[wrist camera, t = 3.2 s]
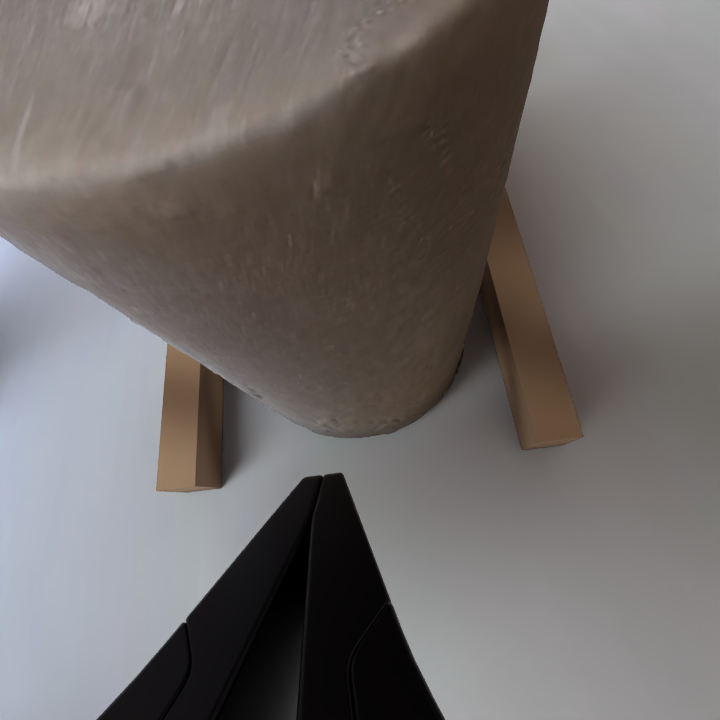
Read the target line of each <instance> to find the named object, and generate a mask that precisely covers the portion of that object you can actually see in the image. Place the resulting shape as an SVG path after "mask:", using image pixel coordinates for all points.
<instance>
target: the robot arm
mask: <svg viewBox="0 0 720 720" xmlns="http://www.w3.org/2000/svg"><path fill="white" fill-rule="evenodd" d="M97 720H445V718H444V716H443V714H442V712H441V711H440V709H439V707H438V705H437V703H436V701H435V699H434V697H433V696H432V694H431V692H430V690H429V687H428V685H427V683H426V681H425V679H424V677H423V675H422V673H421V671H420V669H419V667H418V665H417V663H416V661H415V659H414V657H413V655H412V652H411V650H410V647H409V645H408V643H407V640H406V638H405V635H404V633H403V631H402V628H401V626H400V623H399V620H398V618H397V615H396V612H395V610H394V607H393V605H392V604H391V600H390V597H389V595H388V592H387V589H386V587H385V584H384V581H383V579H382V576H381V573H380V571H379V568H378V565H377V563H376V560H375V557H374V555H373V552H372V549H371V547H370V544H369V541H368V539H367V536H366V533H365V531H364V528H363V525H362V523H361V520H360V517H359V515H358V512H357V510H356V507H355V504H354V502H353V499H352V496H351V494H350V491H349V488H348V486H347V483H346V480H345V478H344V475H343V474H342V473H334V474H327V475H325V476H324V477H323V476H321V475H318V476H310V477H305V478H303V479H302V480H301V481H300V483H299V484H298V485H297V486H296V487H295V489H294V490H293V491H292V492H291V493H290V495H289V496H288V497H287V498H286V499H285V501H284V502H283V503H282V504H281V505H280V507H279V508H278V509H277V510H276V511H275V513H274V514H273V515H272V516H271V517H270V519H269V520H268V521H267V522H266V523H265V525H264V526H263V527H262V528H261V529H260V531H259V532H258V533H257V534H256V535H255V537H254V538H253V539H252V540H251V541H250V543H249V544H248V545H247V546H246V547H245V549H244V550H243V551H242V552H241V553H240V555H239V556H238V557H237V558H236V559H235V561H234V562H233V563H232V564H231V565H230V567H229V568H228V569H227V570H226V571H225V573H224V574H223V575H222V576H221V577H220V579H219V580H218V581H217V582H216V583H215V585H214V586H213V587H212V588H211V589H210V591H209V592H208V593H207V594H206V595H205V597H204V598H203V599H202V600H201V601H200V603H199V604H198V605H197V606H196V607H195V608H194V610H193V611H192V612H191V613H190V614H189V616H188V617H187V618H186V623H182V624H181V625H180V626H179V627H178V629H177V630H176V631H175V632H174V633H173V635H172V636H171V637H170V638H169V639H168V641H167V642H166V643H165V644H164V645H163V647H162V648H161V649H160V650H159V651H158V652H157V653H156V655H155V656H154V657H153V658H152V659H151V660H150V662H149V663H148V664H147V665H146V666H145V667H144V668H143V670H142V671H141V672H140V673H139V674H138V675H137V677H136V678H135V679H134V680H133V681H132V682H131V683H130V684H129V685H128V686H127V687H126V688H125V690H124V691H123V692H122V693H121V694H120V695H119V696H118V697H117V698H116V699H115V700H114V701H113V703H112V704H111V705H110V706H109V707H108V708H107V709H106V710H105V711H104V712H103V713H102V714H101V716H100V717H99V718H98V719H97Z"/></svg>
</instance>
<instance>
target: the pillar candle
mask: <svg viewBox="0 0 720 720" xmlns="http://www.w3.org/2000/svg"><path fill="white" fill-rule="evenodd" d="M548 2H549V0H0V236H1V237H2V238H4V239H6V240H7V241H9V242H10V243H11V244H13V245H14V246H15V247H16V248H18V249H19V250H20V251H22V252H24V253H25V254H27V255H29V256H30V257H32V258H34V259H35V260H37V261H39V262H41V263H42V264H43V265H45V266H46V267H48V268H49V269H51V270H53V271H54V272H56V273H57V274H59V275H60V276H62V277H63V278H65V279H67V280H68V281H70V282H72V283H74V284H76V285H78V286H80V287H82V288H84V289H86V290H88V291H90V292H91V293H93V294H94V295H95V296H97V297H98V298H100V299H102V300H103V301H105V302H106V303H108V304H109V305H110V306H112V307H113V308H115V309H117V310H118V311H120V312H122V313H123V314H124V315H126V316H127V317H129V318H130V320H131V321H132V322H134V323H135V324H138V325H140V326H142V327H144V328H146V329H147V330H149V331H150V332H152V333H153V334H155V335H157V336H159V337H160V338H161V339H163V340H164V341H165V342H167V343H168V344H169V345H171V346H172V347H174V348H175V349H177V350H179V351H181V352H182V353H184V354H187V355H189V356H190V357H191V358H193V359H195V360H196V361H198V362H199V363H201V364H203V365H204V366H205V367H207V368H208V369H209V370H211V371H213V372H214V373H215V374H218V375H220V376H221V377H222V378H224V379H225V380H227V381H228V382H229V383H231V384H233V385H234V386H236V387H238V388H239V389H240V390H242V391H244V392H245V393H247V394H248V395H250V396H252V397H254V398H256V399H258V400H259V401H260V402H261V403H263V404H265V405H267V406H268V407H270V408H271V409H273V410H274V411H276V412H278V413H280V414H281V415H283V416H284V417H286V418H288V419H290V420H291V421H292V422H294V423H296V424H298V425H301V426H303V427H306V428H308V429H309V430H311V431H313V432H315V433H318V434H321V435H326V436H333V437H340V438H361V437H369V436H374V435H380V434H390V433H392V432H395V431H397V430H399V429H400V428H402V427H404V426H407V425H409V424H411V423H413V422H414V421H416V420H417V419H419V418H420V417H421V416H423V415H424V414H425V413H426V412H427V411H428V410H429V409H431V408H432V407H433V406H434V405H435V404H436V403H437V402H438V401H439V400H440V399H441V398H442V397H443V395H444V393H445V392H446V391H447V390H448V388H449V387H450V385H451V384H452V382H453V380H454V376H455V375H456V374H457V372H458V369H459V366H460V363H461V360H462V357H463V351H464V350H463V349H464V348H463V346H464V344H465V339H466V334H467V331H468V328H469V325H470V323H471V321H472V316H473V312H474V308H475V304H476V300H477V296H478V293H479V290H480V286H481V283H482V279H483V275H484V270H485V265H486V262H487V258H488V253H489V248H490V244H491V240H492V236H493V233H494V229H495V224H496V219H497V215H498V211H499V206H500V202H501V198H502V194H503V191H504V186H505V183H506V179H507V175H508V171H509V166H510V162H511V158H512V154H513V150H514V145H515V141H516V137H517V132H518V128H519V124H520V120H521V117H522V113H523V109H524V105H525V101H526V97H527V93H528V89H529V86H530V82H531V78H532V73H533V68H534V64H535V60H536V56H537V52H538V46H539V41H540V36H541V33H542V28H543V24H544V21H545V17H546V12H547V7H548Z"/></svg>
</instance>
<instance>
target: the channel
mask: <svg viewBox="0 0 720 720" xmlns="http://www.w3.org/2000/svg"><path fill="white" fill-rule="evenodd" d="M480 288H481V292H482V296H483V300H484V304H485V308H486V312H487V316H488V320H489V323H490V327H491V331H492V335H493V339H494V343H495V347H496V351H497V355H498V359H499V363H500V367H501V370H502V374H503V378H504V382H505V386H506V390H507V394H508V398H509V402H510V406H511V410H512V414H513V417H514V421H515V425H516V429H517V433H518V437H519V441H520V445H521V449H522V450H527V449H535V448H543V447H551V446H558V445H564V444H566V443H569V442H571V441H574V440H576V439H579V438H581V437H584V436H583V433H582V430H581V426H580V423H579V420H578V417H577V414H576V411H575V407H574V404H573V401H572V398H571V395H570V392H569V388H568V385H567V382H566V379H565V376H564V373H563V369H562V366H561V363H560V360H559V357H558V354H557V350H556V347H555V344H554V341H553V338H552V335H551V331H550V328H549V325H548V322H547V319H546V316H545V312H544V309H543V306H542V303H541V300H540V297H539V293H538V290H537V287H536V284H535V281H534V278H533V274H532V271H531V268H530V265H529V262H528V259H527V255H526V252H525V249H524V246H523V243H522V240H521V236H520V233H519V230H518V227H517V224H516V221H515V217H514V214H513V211H512V208H511V205H510V202H509V198H508V195H507V192H506V189H505V186H504V191H503V194H502V198H501V202H500V206H499V211H498V215H497V219H496V224H495V229H494V233H493V236H492V240H491V244H490V248H489V253H488V258H487V262H486V265H485V270H484V275H483V279H482V283H481V286H480ZM222 427H223V378H222V377H221V376H220V375H218V374H215V373H214V372H213V371H211V370H209V369H208V368H207V367H205V366H204V365H203V364H201V363H199V362H198V361H196V360H195V359H193V358H191V357H190V356H189V355H187V354H184V353H182V352H181V351H179V350H177V349H175V348H174V347H172V346H171V345H169V344H168V343H167V356H166V369H165V382H164V395H163V408H162V421H161V434H160V447H159V460H158V473H157V486H156V491H165V492H194V491H202V490H210V489H218V488H221V479H222Z"/></svg>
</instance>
